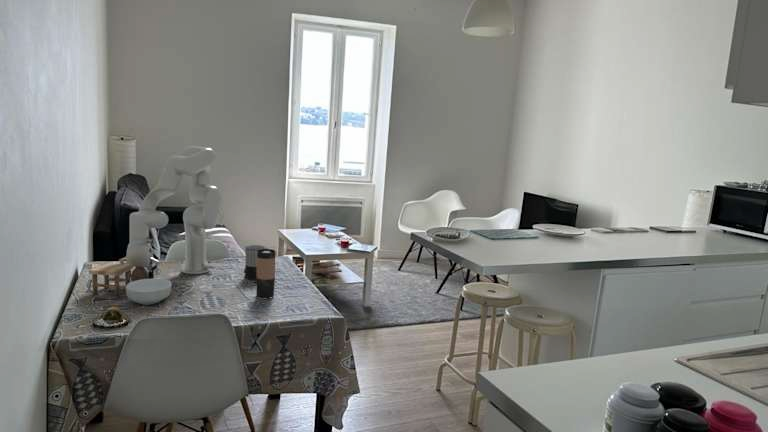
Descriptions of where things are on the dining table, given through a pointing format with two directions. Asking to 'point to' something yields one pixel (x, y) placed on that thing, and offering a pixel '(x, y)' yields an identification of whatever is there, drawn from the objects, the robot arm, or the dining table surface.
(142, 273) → the vase
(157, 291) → the cereal bowl
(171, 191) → the robot arm
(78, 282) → the dining table surface
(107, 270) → the stool
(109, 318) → the mossy pebble dish
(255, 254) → the milk frother
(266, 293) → the travel mug
